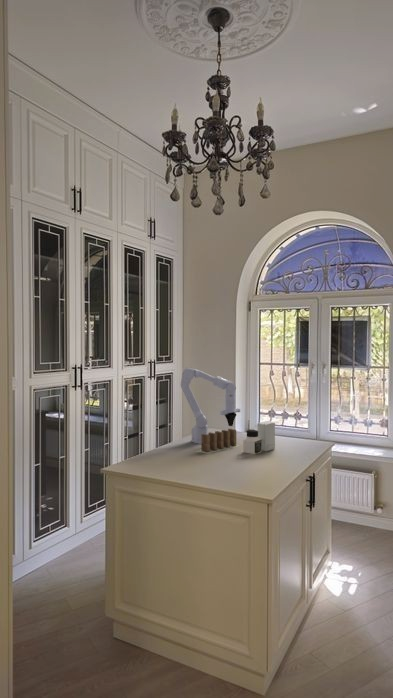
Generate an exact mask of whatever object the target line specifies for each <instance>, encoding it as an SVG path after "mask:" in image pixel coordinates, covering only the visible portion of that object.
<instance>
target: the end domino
mask: <svg viewBox="0 0 393 698" xmlns="http://www.w3.org/2000/svg"><path fill="white" fill-rule="evenodd" d="M200 447H201V448H200V450H201V451H204V452H207V453H208V452H210V435H207V434H201V444H200Z"/></svg>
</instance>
